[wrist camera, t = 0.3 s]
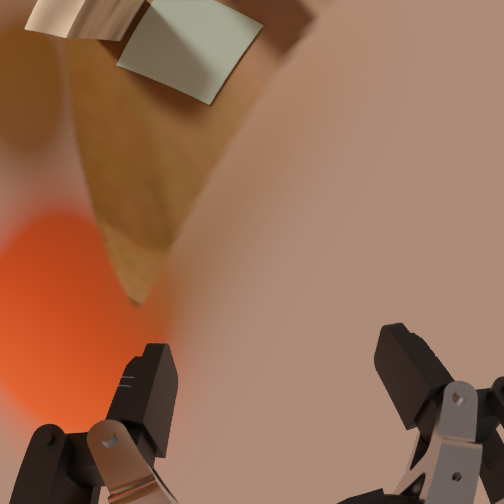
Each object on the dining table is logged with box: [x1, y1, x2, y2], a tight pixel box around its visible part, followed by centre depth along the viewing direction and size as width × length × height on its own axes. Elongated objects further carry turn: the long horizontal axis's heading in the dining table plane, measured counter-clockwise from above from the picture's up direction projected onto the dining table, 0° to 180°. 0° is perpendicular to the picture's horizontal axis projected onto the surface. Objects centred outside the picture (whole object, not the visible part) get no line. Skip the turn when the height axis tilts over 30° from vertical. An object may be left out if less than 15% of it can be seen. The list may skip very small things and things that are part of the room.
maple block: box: [25, 0, 146, 41], centre depth 15 cm, size 5×6×14 cm
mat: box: [117, 0, 263, 105], centre depth 25 cm, size 13×12×1 cm
